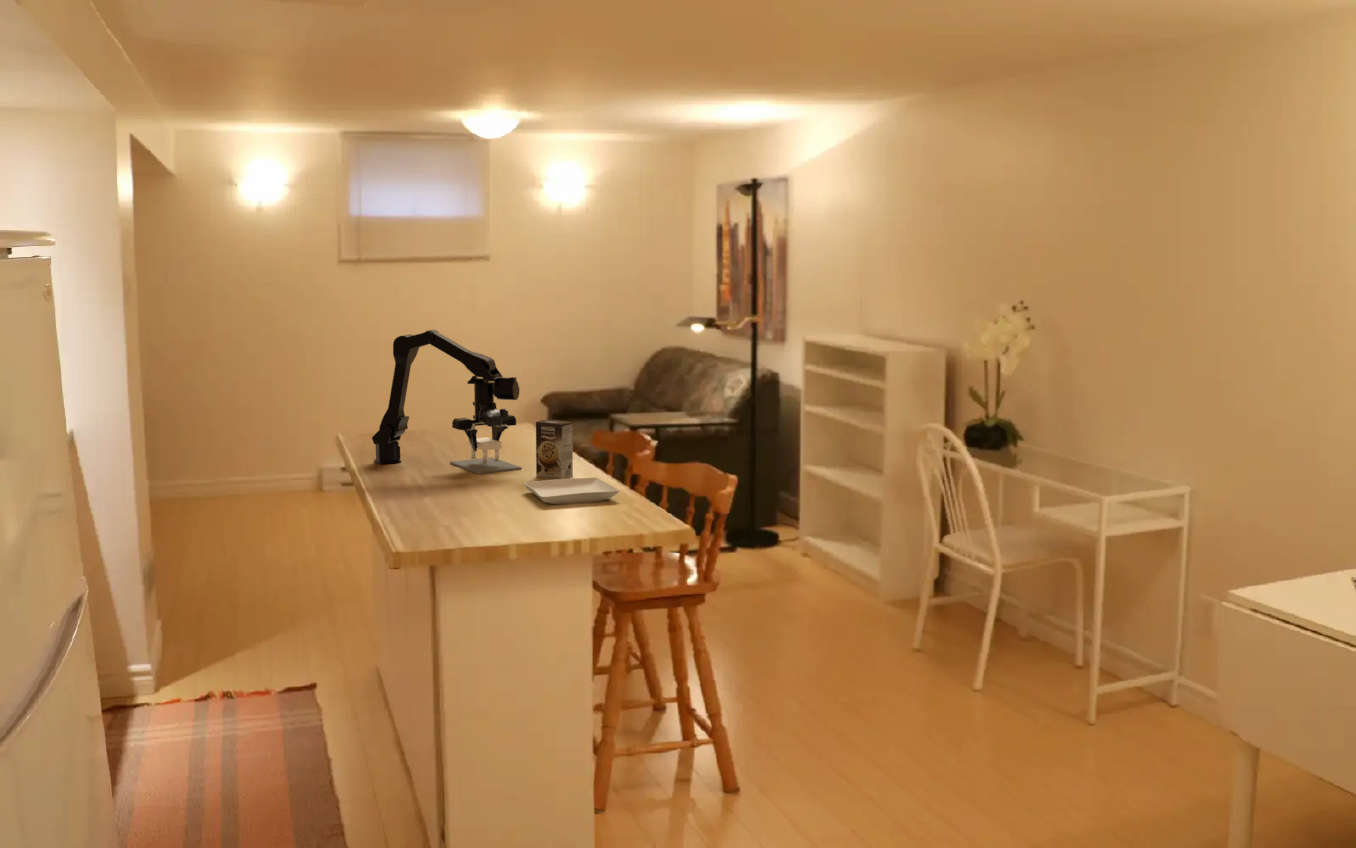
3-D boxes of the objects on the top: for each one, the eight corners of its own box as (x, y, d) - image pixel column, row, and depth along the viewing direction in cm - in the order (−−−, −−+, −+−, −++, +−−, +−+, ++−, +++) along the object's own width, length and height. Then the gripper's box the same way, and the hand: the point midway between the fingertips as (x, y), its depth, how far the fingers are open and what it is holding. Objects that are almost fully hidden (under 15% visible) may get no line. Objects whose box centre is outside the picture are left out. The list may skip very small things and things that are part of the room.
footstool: (469, 458, 363) (468, 439, 362) (487, 456, 366) (486, 437, 365) (483, 463, 355) (483, 443, 354) (501, 461, 358) (501, 441, 357)
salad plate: (522, 493, 325) (522, 480, 324) (597, 487, 332) (597, 475, 332) (541, 509, 305) (541, 496, 305) (620, 503, 313) (620, 490, 312)
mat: (478, 474, 349) (478, 472, 349) (450, 463, 365) (450, 461, 365) (521, 469, 357) (521, 467, 357) (492, 459, 373) (492, 457, 373)
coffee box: (535, 476, 346) (534, 421, 343) (547, 473, 351) (547, 418, 349) (561, 479, 341) (561, 423, 339) (573, 476, 347) (573, 421, 345)
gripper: (466, 404, 346) (467, 457, 348) (524, 399, 357) (525, 451, 359) (450, 399, 355) (452, 451, 357) (507, 395, 366) (508, 446, 368)
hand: (485, 450), depth 360 cm, fingers closed on footstool, 6 cm apart
